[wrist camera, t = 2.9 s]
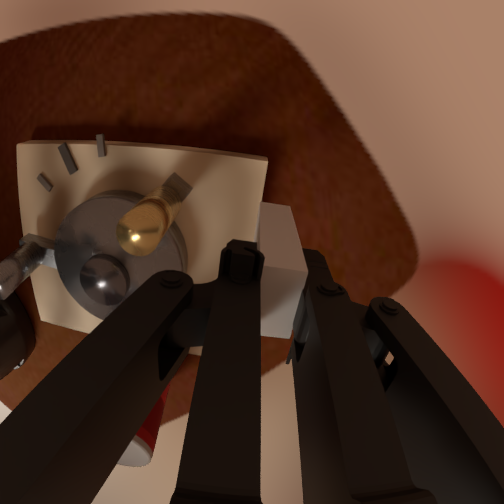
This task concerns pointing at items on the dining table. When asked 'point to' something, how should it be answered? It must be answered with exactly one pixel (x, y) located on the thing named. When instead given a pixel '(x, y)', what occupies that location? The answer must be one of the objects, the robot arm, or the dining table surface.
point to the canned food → (145, 437)
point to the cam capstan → (107, 246)
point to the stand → (140, 181)
